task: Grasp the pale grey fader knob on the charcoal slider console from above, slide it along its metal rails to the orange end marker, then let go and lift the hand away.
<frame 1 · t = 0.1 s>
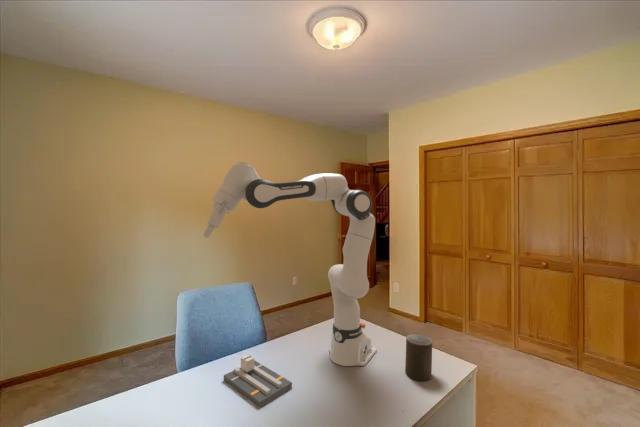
hand: (206, 235, 105), 54 cm above the table, tool tilted 30°, fingers open, 8 cm apart
pillar candle: (418, 374, 114), on the table
slider console: (257, 384, 107), on the table
fader knob: (247, 364, 111), point 5 cm above the table, slide at -6.0 cm
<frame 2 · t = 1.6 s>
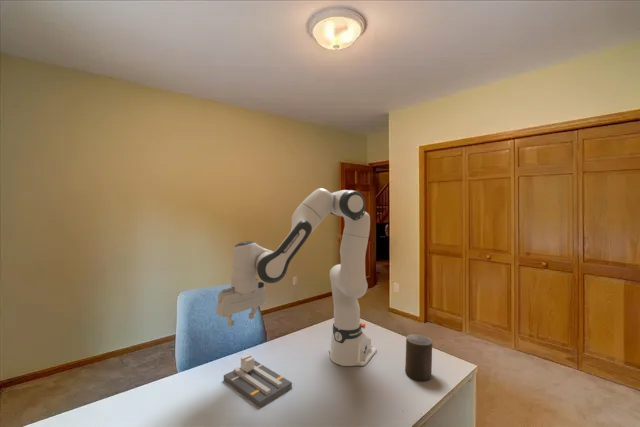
hand: (241, 321, 109), 22 cm above the table, tool pointing down, fingers open, 8 cm apart
nothing on the table moved.
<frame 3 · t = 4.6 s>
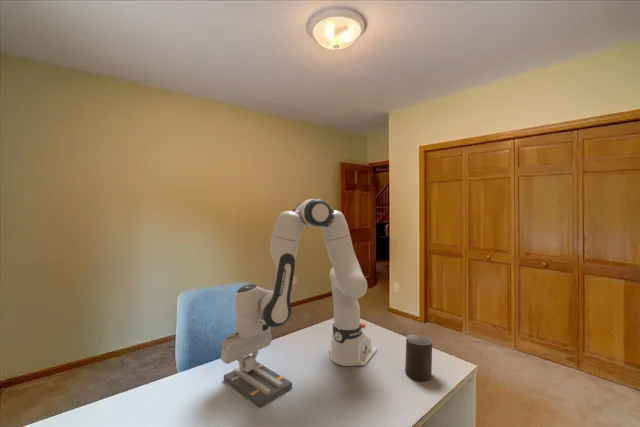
hand: (247, 364, 111), 5 cm above the table, tool pointing down, fingers closed on fader knob, 3 cm apart
fader knob: (247, 364, 111), point 5 cm above the table, slide at -6.0 cm, touching gripper
everything else where it was.
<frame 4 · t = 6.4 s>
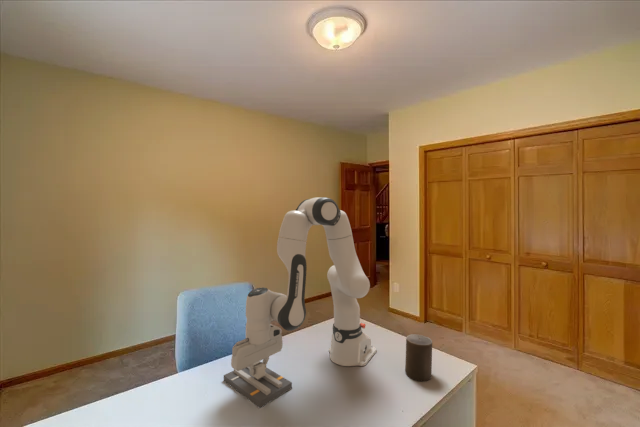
hand: (258, 371, 106), 5 cm above the table, tool pointing down, fingers closed on fader knob, 3 cm apart
fader knob: (258, 371, 106), point 5 cm above the table, slide at 0.6 cm, touching gripper
everything else where it was.
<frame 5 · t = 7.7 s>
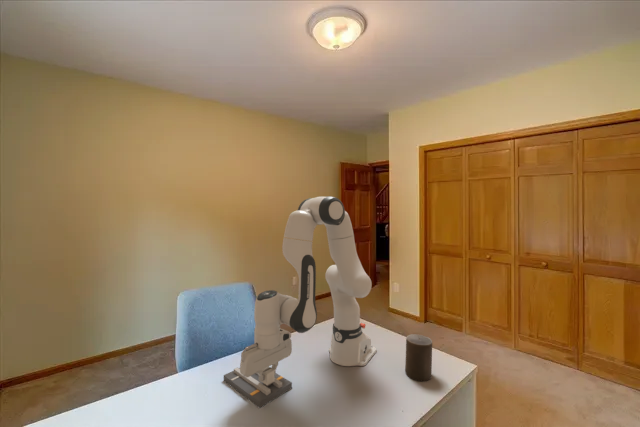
hand: (267, 377, 103), 5 cm above the table, tool pointing down, fingers closed on fader knob, 3 cm apart
fader knob: (267, 377, 103), point 5 cm above the table, slide at 5.9 cm, touching gripper
everything else where it was.
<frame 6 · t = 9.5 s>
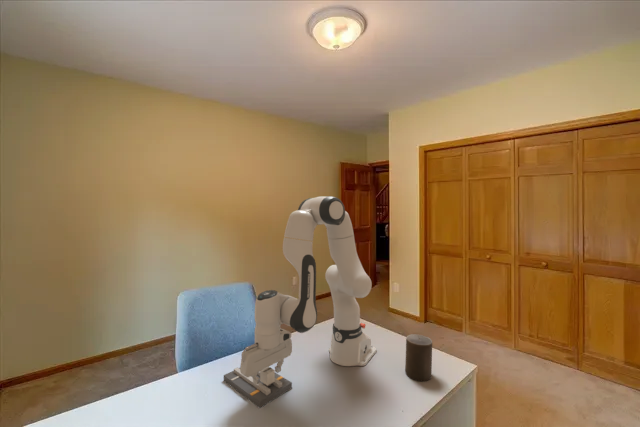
hand: (267, 377, 103), 5 cm above the table, tool pointing down, fingers open, 8 cm apart
fader knob: (267, 377, 103), point 5 cm above the table, slide at 6.0 cm
everything else where it was.
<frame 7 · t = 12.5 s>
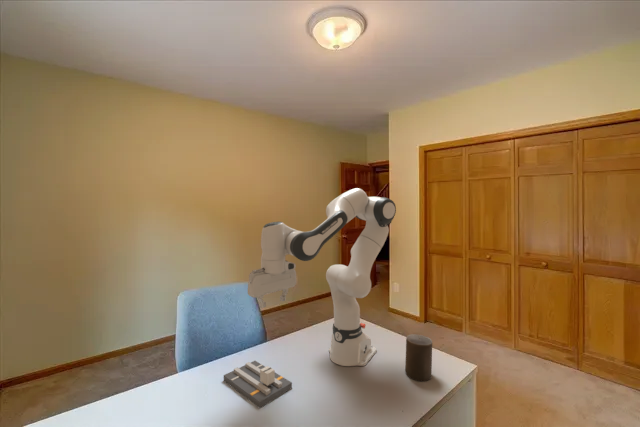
hand: (273, 303, 108), 29 cm above the table, tool pointing down, fingers open, 8 cm apart
nothing on the table moved.
at the end: fader knob slide at 6.0 cm; the gripper is holding nothing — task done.
